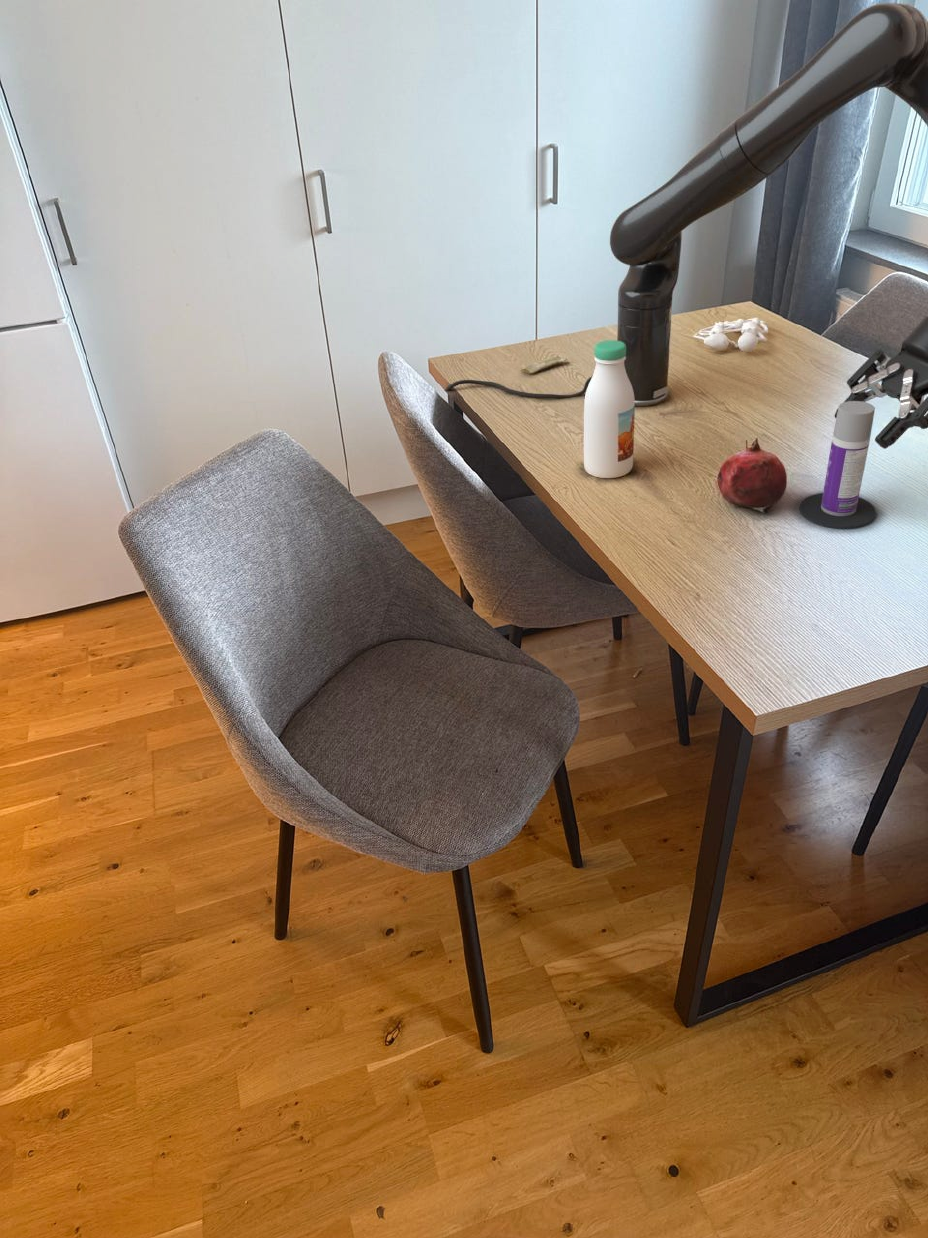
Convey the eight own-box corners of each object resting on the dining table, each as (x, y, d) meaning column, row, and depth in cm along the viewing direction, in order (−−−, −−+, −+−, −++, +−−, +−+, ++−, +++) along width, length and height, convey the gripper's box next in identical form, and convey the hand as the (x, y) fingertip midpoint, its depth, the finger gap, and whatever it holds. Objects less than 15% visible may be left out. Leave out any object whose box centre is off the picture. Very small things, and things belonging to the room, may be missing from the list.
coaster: (790, 519, 127) (791, 517, 127) (810, 489, 134) (811, 487, 133) (865, 535, 122) (866, 532, 122) (882, 502, 129) (883, 500, 129)
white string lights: (710, 328, 198) (710, 308, 196) (779, 327, 191) (780, 307, 189) (687, 355, 184) (686, 335, 182) (760, 355, 177) (761, 334, 175)
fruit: (773, 525, 126) (782, 459, 120) (706, 511, 131) (712, 447, 125) (792, 496, 132) (801, 432, 126) (728, 484, 137) (734, 422, 131)
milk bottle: (601, 484, 140) (603, 357, 128) (574, 466, 146) (573, 343, 134) (642, 470, 143) (647, 345, 131) (614, 453, 148) (616, 332, 137)
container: (815, 502, 130) (831, 402, 121) (847, 498, 130) (866, 398, 121) (828, 518, 126) (846, 416, 117) (862, 514, 126) (882, 412, 117)
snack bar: (530, 372, 179) (521, 364, 181) (528, 378, 181) (520, 370, 182) (568, 359, 183) (559, 351, 185) (566, 365, 184) (558, 357, 186)
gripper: (899, 301, 121) (812, 399, 125) (979, 331, 109) (880, 437, 114) (925, 334, 125) (839, 427, 129) (1004, 366, 113) (907, 467, 118)
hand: (858, 432), depth 121 cm, fingers open, 8 cm apart
